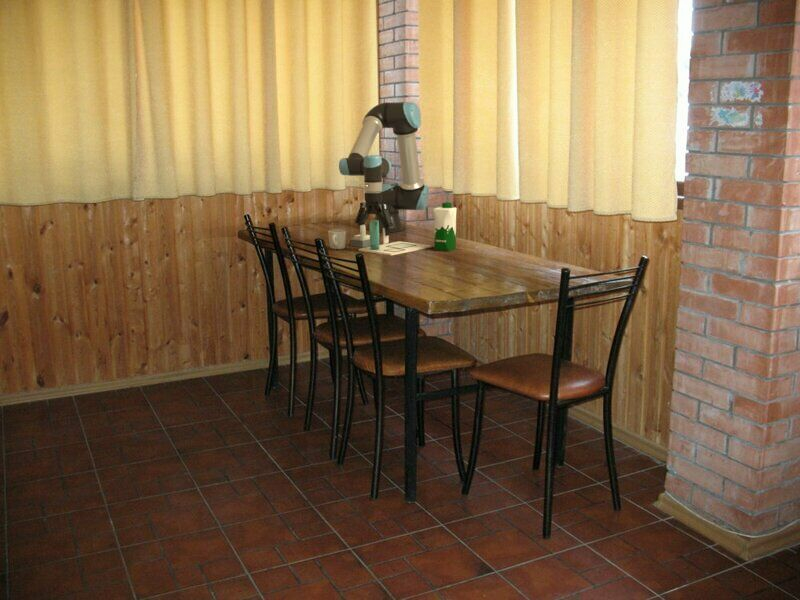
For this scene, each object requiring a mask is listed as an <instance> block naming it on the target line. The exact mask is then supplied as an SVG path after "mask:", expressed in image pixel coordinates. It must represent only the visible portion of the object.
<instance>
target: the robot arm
mask: <svg viewBox="0 0 800 600" xmlns="http://www.w3.org/2000/svg"><path fill="white" fill-rule="evenodd" d="M421 115H422V114H421V111H420V108H419V106H418V104H416V103H415V102H413V101H412V102H408V101H402V102H400V101H397V102H396V101H395V102H394V101H393V102H389V101H388V102H381V103H379V104H377V105H375V106H373V107H372V108H371V109H370V110H368V112H367V113H366V114H365V116H364V117H363V119H362V121H361V125H362V127H361V129H360V131H359V133H358V134H357V135H358V136H357V138H356V140H355V142H354V144H353V146H352V148H351V150H350V152H349V154H348V157H343V158H340V160H339V162H338V170H339V173H340V174H341V175H342V176H348V177H349V176H350V177H352V176H353V177H355V176H363V178H364V179H363V182H364V184H363V186H364V187H363V188H364V192H365V193H364V194H363V195H364V196H363V197H364V201H362V202H360V203H359V209H358V212H357V215H356V218H355V220H354V223H355V224H357V225H358V232H359V235H360V240H361V241H362V240H366V235H367V233H366V230H367V229H366V221H367V220H368V218H369V217H370V215H375V216H374V219H373V221H379V233H382V245H383V244H388V243H389V237H390V233H397V232H402V231H404V230H403V229H404V228H403V224H402V220H401V217H400V210H402V211H423V210H425V209H426V208H427V206H428V202H429V197H430V189H429V186H427V185H425V182H424V180H423V179H421V173H420V172H421V171H420V165H419V155H418V147H417V140H416V139H417V136H416V133H417V132H418V131H419V129H418V128H420V126H421V125H422V120H421V119H422V117H421ZM383 129H392V133H393V135H395V136H396V140H397V146H398V147H397V148H398V154H399V155H398V156H399V162H400V170H401V177H402V179H401V183H400V184H399V182H389V183H388V182H387V183H383V181H382V180H383V177H385V176H386V175H388V174H389V173H390V172H391V171H392V163H391V161H390V160H389V159H388V158H386V157H382V156H381V155H380V154H369V153H370V151H371V149H372V146H373V144H374V143H375V139H376V138H377V135H378V134H379V133H380V132H382V130H383Z"/></svg>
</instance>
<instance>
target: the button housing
mask: <svg viewBox="0 0 800 600" xmlns="http://www.w3.org/2000/svg"><path fill="white" fill-rule="evenodd" d="M349 246H350V247H356V248H367V247H370V239H367V240H362V241H361V240H356V239H354V237H353V238H350V239H349Z"/></svg>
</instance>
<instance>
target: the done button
mask: <svg viewBox="0 0 800 600" xmlns="http://www.w3.org/2000/svg"><path fill="white" fill-rule="evenodd" d="M353 238H354V239H356V240H360V234H355V235H353ZM367 239H370V234H366V240H367Z"/></svg>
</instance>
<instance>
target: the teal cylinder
mask: <svg viewBox="0 0 800 600" xmlns="http://www.w3.org/2000/svg"><path fill="white" fill-rule="evenodd" d="M368 224H369V226H368V227H369V235H370V246H369V247H370V249H371V250H378V249H380V248H379V245H380V232H379V221H374V220H369V223H368Z"/></svg>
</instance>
